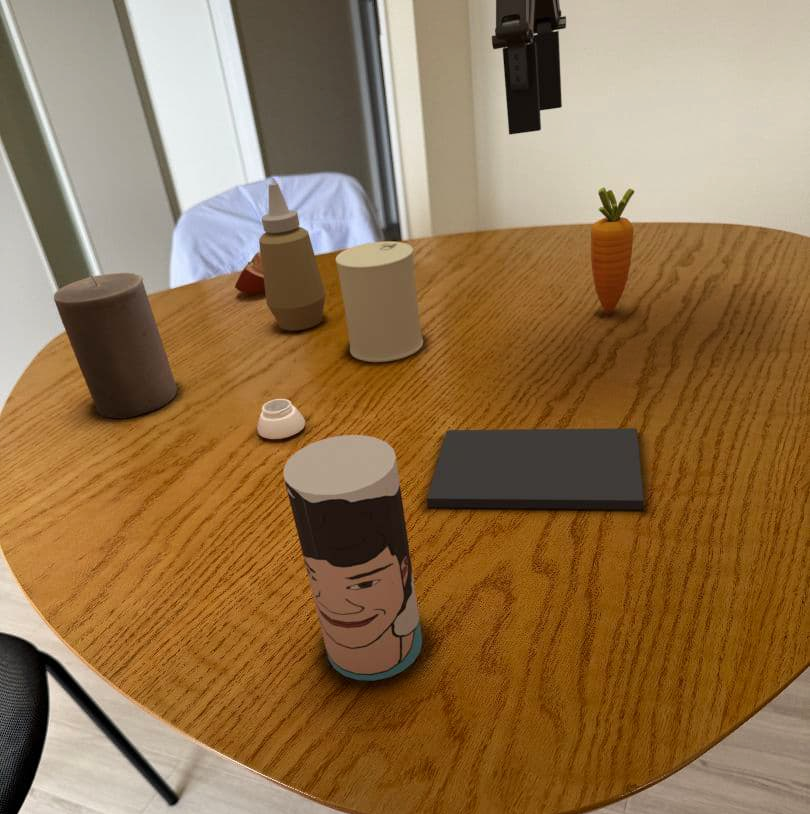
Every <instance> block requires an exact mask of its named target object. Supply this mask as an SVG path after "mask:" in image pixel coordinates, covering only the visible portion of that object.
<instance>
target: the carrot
mask: <svg viewBox="0 0 810 814" xmlns="http://www.w3.org/2000/svg"><path fill="white" fill-rule="evenodd" d="M634 193H635V190H634V189H633V188H628V189H627V190H626V191H625V194H624V195H623V196H622V198H621V200H619V202H617V199H616V196H615V194H614V192H613V190H612V189H608V190H607V189H606V187H601V188H600V189H598V194H597V195H598V196H599V199H600V201H601V204H602V206H601V207H599V208H598V211H599V212H600V213H601V214H602V215H603V216H604V217H603V218H601V219H599V220H597V221H595V222H594V223H593V224H592V226H591V229H590V257H591V258H590V260H591V261H590V262H591V272H592V278H593V283H594V288H595V292H596V295H597V297H598V300H599V302H600V305H601V308H602V309H603V311H604V312H605V313H606V314H607V315H610V314H611V313H612V312H614V311H615V309H616V307H617V305H618V304H619V302H620V300H621V299H622V295H623V293H624V291H625V289H626V285H627V280H628V277H629V273H630V268H631V262H632V254H633V253H632V252H633V244H634V243H633V241H634V226H633V224H632V223H631V222H630V220H629V219H628V218H627V217H622V214H623V213H624V211H625V209H626V207H627V205H628V203H629V202H630V199H631V198H632V196H633V195H634Z"/></svg>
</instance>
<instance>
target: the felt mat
mask: <svg viewBox="0 0 810 814" xmlns="http://www.w3.org/2000/svg"><path fill="white" fill-rule="evenodd" d="M443 438H444V439H443V442H442V444H441V449H440V452H439V457H438V459H437V462H436V466H435V470H434V473H433V476H432V480H431V483H430V486H429V490H428V493H427V496H426V503H427V508H433V509H434V508H435V509H436V508H437V509H438V508H442V509H443V508H445V509H446V508H447V509H522V510H523V509H525V510H526V509H529V510H530V509H531V510H532V509H533V510H534V509H535V510H608V511H609V510H611V511H612V510H614V511H615V510H617V511H618V510H620V511H627V510H628V511H643V510H644V503H645V499H644V490H643V479H642V478H643V477H642V466H641V457H640V456H641V455H640V445H639V434H638V428H637V427H630V428H629V427H628V428H627V427H623V428H621V427H619V428H618V427H617V428H614V427H613V428H611V427H610V428H544V429H543V428H533V429H532V428H528V429H526V428H525V429H524V428H521V429H515V428H514V429H446V431H445V435H444V437H443Z"/></svg>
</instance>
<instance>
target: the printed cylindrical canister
mask: <svg viewBox="0 0 810 814" xmlns="http://www.w3.org/2000/svg"><path fill="white" fill-rule="evenodd" d="M283 480H284V483H285V488H286V492H287V495H288V499H289V504H290V508H291V512H292V516H293V519H294V524H295V528H296V533H297V536H298V541H299V544H300V549H301V553H302V555H303V556H302V557H303V560H304V565H305V569H306V572H307V573H306V574H307V577H308V582H309V585H310V589H311V594H312V597H313V601H314V605H315V609H316V614H317V618H318V622H319V626H320V630H321V633H322V638H323V642H324V646H325V651H326V654H327V658H328V661H329V662H330V665H331V666H332V667H333V669H334V670H336V671H337V672H338V673H340V674H341V675H342V676H344V677H346V678H350V679H353V680H356V681H372V682H373V681H378V680H383V679H384V680H385V679H388V678H392V677H393V676H396V675H397V674H399V673H402V672H404V671H405V670H406V669H408V668H409V667H410V666H411V665H412V664H414V662H415V661H416V659H417V658H418V656H419V655H420V653H421V650H422V646H423V645H422V644H423V636H422V630H421V629H422V628H421V623H420V622H421V621H420V615H419V608H418V601H417V595H416V587H415V582H414V581H415V580H414V573H413V566H412V560H411V552H410V545H409V539H408V538H409V537H408V531H407V523H406V517H405V510H404V504H403V497H402V496H403V495H402V489H401V483H400V475H399V469H398V461H397V456H396V452H395V449H394V447H392V446H391V444H389V443H388V442H387V441H385V440H382V439H380V438H378V437H375V436H369V435H362V434H343V435H336V436H332V437H326V438H324V439H321V440H318V441H314V442H312V443H310V444H308V445H306V446H304V447H302V448H301V449H299V450H297V451H296V452H295V453H293V455H291V457H289V458H288V459H287V461H286V463H285V466H284V467H283Z"/></svg>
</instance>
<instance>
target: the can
mask: <svg viewBox="0 0 810 814" xmlns="http://www.w3.org/2000/svg"><path fill="white" fill-rule="evenodd" d="M414 261H415V260H414V248H413V247H412V245H410V244H408V243H405V242H401V241H389V240H388V241H387V240H386V241H374V242H368V243H363V244H359V245H355V246H352V247H350V248H347V249H345V250H343V251H341V252H339V253H338V254H337V255H336V257H335V263H336V268H337V271H338V272H337V273H338V279H339V285H340V290H341V295H342V302H343V308H344V314H345V319H346V327H347V332H348V340H349V353H350V355H351V356H352V357H353V358H354V359H356V360H359V361H362V362H366V363H367V362H368V363H386V362H393V361H398V360H402V359H405V358H407V357H409V356H412V355H414V354H416V353H417V352H418V351H419V350H421V349H422V348H423V345H424V339H423V336H422V335H423V334H422V329H421V320H420V313H419V304H418V295H417V294H418V293H417V284H416V283H417V282H416V273H415V272H416V271H415V264H414V263H415V262H414Z"/></svg>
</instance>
